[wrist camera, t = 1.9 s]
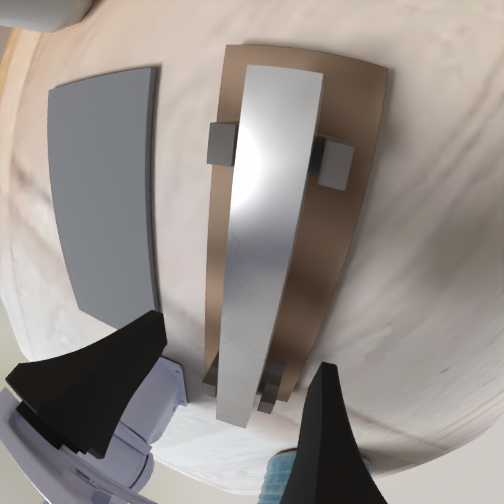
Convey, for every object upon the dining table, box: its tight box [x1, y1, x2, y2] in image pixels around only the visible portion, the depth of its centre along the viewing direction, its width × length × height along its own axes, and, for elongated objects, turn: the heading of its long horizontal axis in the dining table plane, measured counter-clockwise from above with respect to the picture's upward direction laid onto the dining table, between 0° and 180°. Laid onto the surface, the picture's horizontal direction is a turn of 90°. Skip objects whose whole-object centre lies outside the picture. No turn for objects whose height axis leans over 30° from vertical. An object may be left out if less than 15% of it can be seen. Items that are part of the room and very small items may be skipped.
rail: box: [216, 65, 325, 428], centre depth 13 cm, size 22×2×2 cm, turn 173°
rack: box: [202, 45, 388, 414], centre depth 15 cm, size 26×8×5 cm, turn 173°
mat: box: [47, 67, 159, 330], centre depth 20 cm, size 24×12×1 cm, turn 173°
